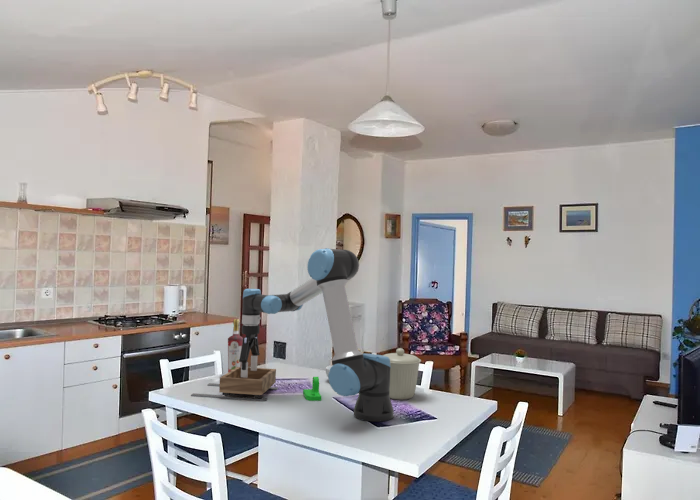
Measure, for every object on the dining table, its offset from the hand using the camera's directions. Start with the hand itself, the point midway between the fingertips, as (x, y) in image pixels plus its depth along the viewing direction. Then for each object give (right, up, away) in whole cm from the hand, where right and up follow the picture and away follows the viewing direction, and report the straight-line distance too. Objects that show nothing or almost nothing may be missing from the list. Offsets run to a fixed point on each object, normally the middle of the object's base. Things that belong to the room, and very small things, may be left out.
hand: (249, 373), depth 225 cm
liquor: (-12, -8, +27) cm, 31 cm away
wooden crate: (0, -8, 0) cm, 8 cm away
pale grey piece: (+40, -10, +24) cm, 48 cm away
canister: (+65, -11, +2) cm, 66 cm away
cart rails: (-6, -8, +1) cm, 10 cm away
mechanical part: (+27, -10, -3) cm, 29 cm away
